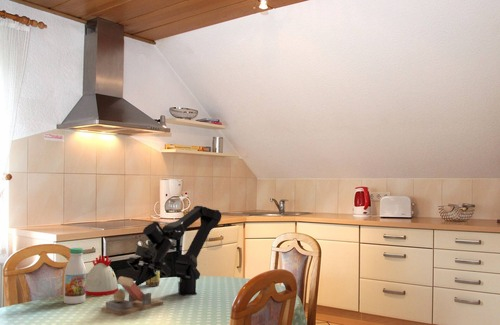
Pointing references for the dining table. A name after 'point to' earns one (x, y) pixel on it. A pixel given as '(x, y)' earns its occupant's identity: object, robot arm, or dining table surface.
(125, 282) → the lever
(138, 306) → the base
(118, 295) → the walnut
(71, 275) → the milk bottle
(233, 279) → the dining table surface
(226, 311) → the dining table surface
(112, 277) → the white and red dome
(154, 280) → the sauce bottle
